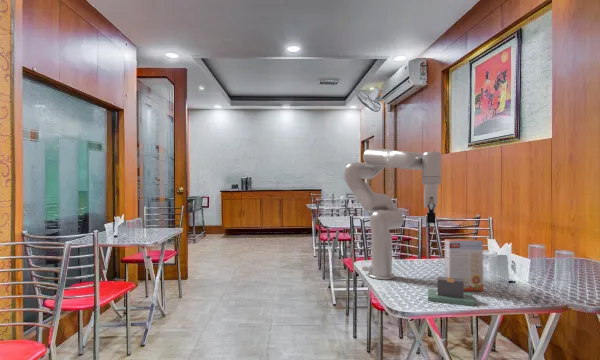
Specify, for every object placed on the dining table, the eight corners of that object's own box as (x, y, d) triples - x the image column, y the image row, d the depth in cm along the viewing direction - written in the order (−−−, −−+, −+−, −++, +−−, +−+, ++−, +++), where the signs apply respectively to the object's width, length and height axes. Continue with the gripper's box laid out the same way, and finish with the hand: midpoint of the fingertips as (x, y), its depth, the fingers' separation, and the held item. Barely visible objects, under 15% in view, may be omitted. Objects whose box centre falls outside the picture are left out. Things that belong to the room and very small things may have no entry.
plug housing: (437, 295, 139) (437, 279, 139) (437, 291, 144) (437, 276, 144) (463, 298, 136) (463, 281, 136) (462, 294, 141) (462, 278, 141)
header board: (428, 300, 137) (428, 286, 137) (428, 292, 148) (428, 278, 148) (475, 306, 132) (475, 290, 132) (471, 296, 143) (471, 282, 143)
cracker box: (476, 287, 157) (476, 238, 157) (483, 291, 151) (483, 240, 151) (443, 287, 157) (444, 238, 157) (449, 291, 151) (449, 240, 151)
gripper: (422, 181, 163) (422, 219, 162) (421, 180, 146) (421, 223, 146) (440, 181, 160) (440, 220, 160) (441, 180, 144) (441, 224, 143)
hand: (431, 221), depth 153 cm, fingers open, 9 cm apart
